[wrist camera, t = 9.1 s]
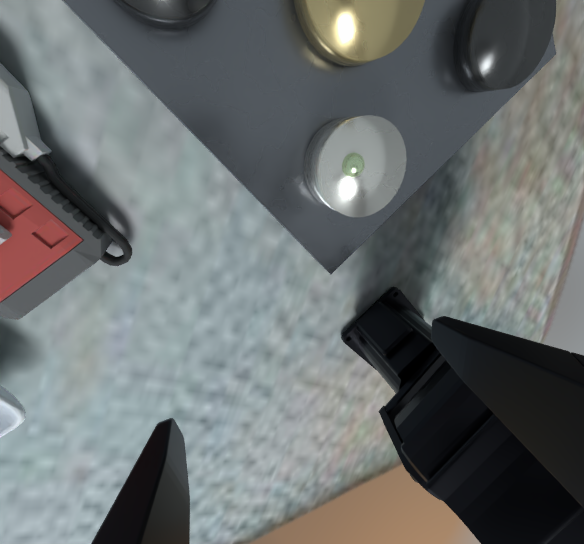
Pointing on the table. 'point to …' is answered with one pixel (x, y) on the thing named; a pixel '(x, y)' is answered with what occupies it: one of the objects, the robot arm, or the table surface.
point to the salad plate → (9, 412)
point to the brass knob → (357, 27)
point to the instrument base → (326, 99)
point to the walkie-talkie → (41, 214)
